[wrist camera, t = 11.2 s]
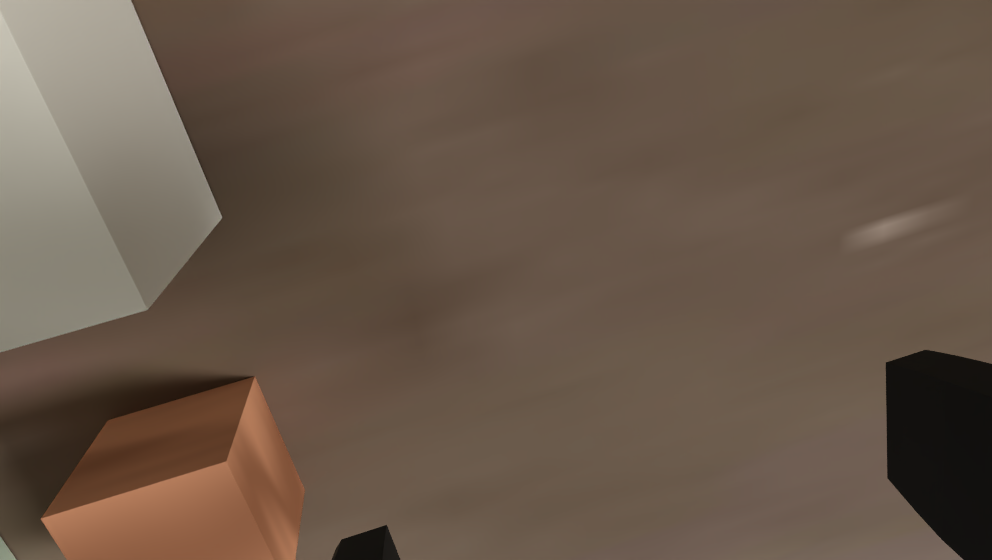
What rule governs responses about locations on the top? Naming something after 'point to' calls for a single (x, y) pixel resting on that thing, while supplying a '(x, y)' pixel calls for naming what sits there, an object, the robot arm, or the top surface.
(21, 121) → the cover
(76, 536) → the orange brown block
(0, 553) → the coaster
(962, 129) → the top surface
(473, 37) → the top surface
